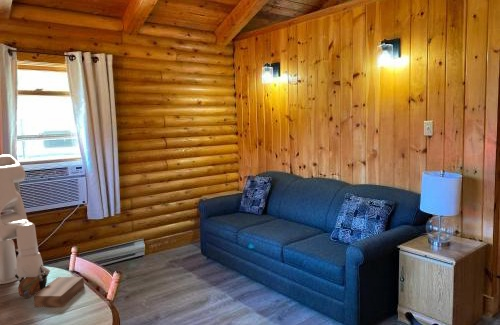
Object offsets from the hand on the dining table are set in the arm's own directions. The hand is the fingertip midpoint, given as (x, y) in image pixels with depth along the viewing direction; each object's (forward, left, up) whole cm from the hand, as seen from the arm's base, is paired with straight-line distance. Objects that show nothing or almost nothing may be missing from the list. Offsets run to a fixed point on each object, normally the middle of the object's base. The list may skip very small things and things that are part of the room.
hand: (33, 288), depth 179 cm
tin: (0, 0, -2) cm, 2 cm away
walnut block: (+15, -4, -2) cm, 16 cm away
